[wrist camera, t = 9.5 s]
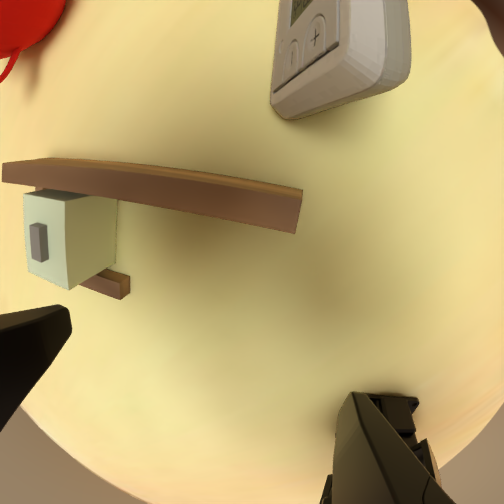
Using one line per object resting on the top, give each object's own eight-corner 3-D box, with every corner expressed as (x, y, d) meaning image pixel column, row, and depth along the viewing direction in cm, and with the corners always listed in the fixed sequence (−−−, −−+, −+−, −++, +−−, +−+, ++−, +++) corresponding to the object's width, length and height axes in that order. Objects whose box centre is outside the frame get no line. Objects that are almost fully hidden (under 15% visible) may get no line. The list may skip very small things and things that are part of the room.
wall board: (271, 331, 21) (258, 385, 15) (48, 263, 24) (6, 283, 18) (302, 190, 18) (301, 200, 12) (48, 157, 20) (-1, 163, 15)
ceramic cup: (7, 117, 20) (-61, 120, 11) (22, 10, 16) (-29, -3, 6) (79, 67, 17) (-8, 46, 8) (95, -44, 13) (41, -75, 4)
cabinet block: (116, 262, 22) (61, 295, 15) (75, 249, 22) (21, 275, 16) (118, 190, 20) (55, 203, 14) (75, 183, 21) (15, 195, 14)
